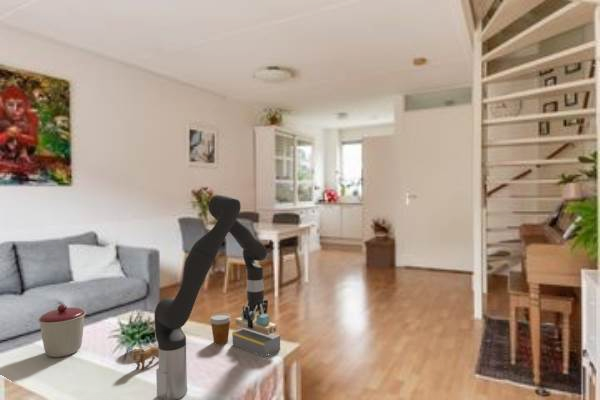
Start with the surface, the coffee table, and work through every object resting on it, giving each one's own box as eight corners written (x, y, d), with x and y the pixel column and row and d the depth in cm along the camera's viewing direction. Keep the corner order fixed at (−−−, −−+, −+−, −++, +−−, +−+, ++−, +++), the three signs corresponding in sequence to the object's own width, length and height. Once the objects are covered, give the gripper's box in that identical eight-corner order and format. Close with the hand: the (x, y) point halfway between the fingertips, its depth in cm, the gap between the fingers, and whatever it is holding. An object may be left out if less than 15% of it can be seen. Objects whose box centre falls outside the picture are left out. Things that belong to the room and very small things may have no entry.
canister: (96, 344, 176) (94, 299, 175) (68, 362, 158) (66, 312, 157) (59, 343, 178) (57, 298, 177) (28, 361, 160) (26, 311, 159)
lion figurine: (136, 375, 147) (136, 352, 147) (127, 372, 150) (126, 349, 149) (166, 359, 160) (165, 338, 160) (157, 357, 163) (156, 336, 162)
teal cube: (263, 325, 165) (263, 317, 165) (256, 323, 168) (256, 316, 168) (269, 323, 169) (269, 315, 168) (263, 321, 171) (262, 313, 171)
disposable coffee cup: (235, 340, 179) (235, 315, 179) (221, 348, 171) (220, 321, 171) (220, 336, 184) (220, 311, 184) (206, 343, 176) (205, 317, 176)
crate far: (248, 321, 171) (248, 313, 171) (242, 319, 174) (242, 311, 174) (254, 318, 174) (254, 311, 174) (248, 317, 177) (248, 309, 177)
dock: (264, 357, 161) (264, 343, 161) (232, 345, 174) (232, 332, 174) (280, 348, 170) (280, 335, 169) (248, 337, 182) (248, 325, 182)
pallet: (267, 335, 163) (267, 328, 163) (235, 324, 175) (235, 318, 175) (277, 331, 167) (277, 324, 167) (245, 321, 180) (245, 315, 180)
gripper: (249, 294, 163) (250, 332, 163) (272, 286, 174) (272, 323, 175) (237, 291, 167) (238, 328, 168) (260, 284, 179) (261, 319, 179)
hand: (255, 325), depth 171 cm, fingers closed on pallet, 6 cm apart
